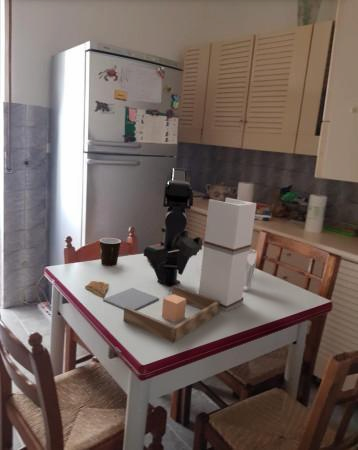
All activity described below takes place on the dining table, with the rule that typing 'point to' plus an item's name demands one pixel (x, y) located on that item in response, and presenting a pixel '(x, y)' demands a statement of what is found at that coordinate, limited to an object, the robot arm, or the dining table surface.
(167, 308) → the terracotta block
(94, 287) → the shard
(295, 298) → the dining table surface
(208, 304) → the walnut u-shaped frame
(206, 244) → the banded white pillar
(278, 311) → the dining table surface
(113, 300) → the slate mat
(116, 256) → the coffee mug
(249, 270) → the beer glass
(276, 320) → the dining table surface
